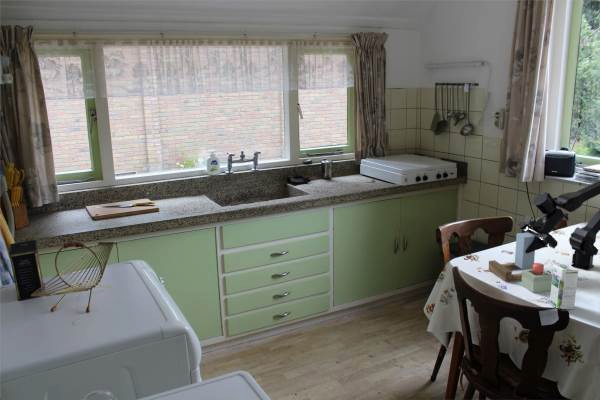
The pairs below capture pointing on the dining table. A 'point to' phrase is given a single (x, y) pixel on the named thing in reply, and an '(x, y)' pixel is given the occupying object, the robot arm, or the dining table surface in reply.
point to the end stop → (500, 271)
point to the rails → (515, 276)
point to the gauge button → (538, 268)
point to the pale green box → (536, 281)
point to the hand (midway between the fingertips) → (521, 250)
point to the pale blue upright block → (521, 256)
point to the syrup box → (563, 286)
